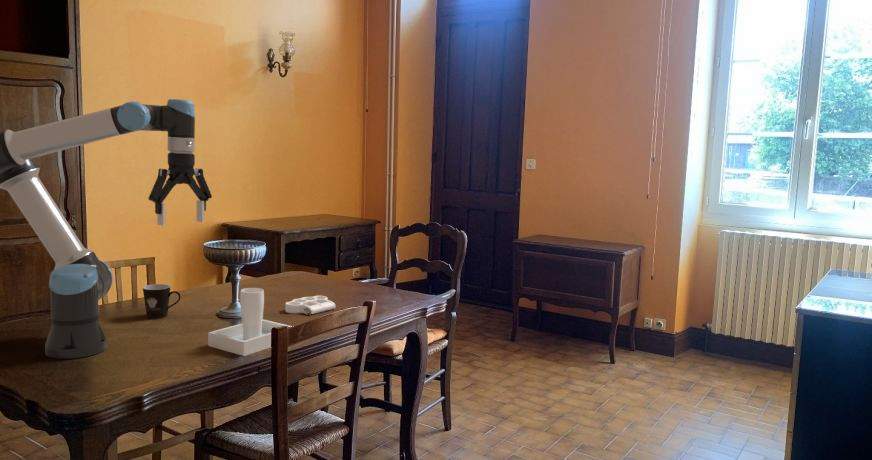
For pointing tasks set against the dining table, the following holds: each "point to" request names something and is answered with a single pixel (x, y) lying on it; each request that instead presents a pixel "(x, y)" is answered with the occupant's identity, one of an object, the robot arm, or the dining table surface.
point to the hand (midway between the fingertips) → (181, 223)
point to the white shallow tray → (235, 343)
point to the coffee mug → (157, 300)
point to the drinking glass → (252, 312)
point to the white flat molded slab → (309, 305)
